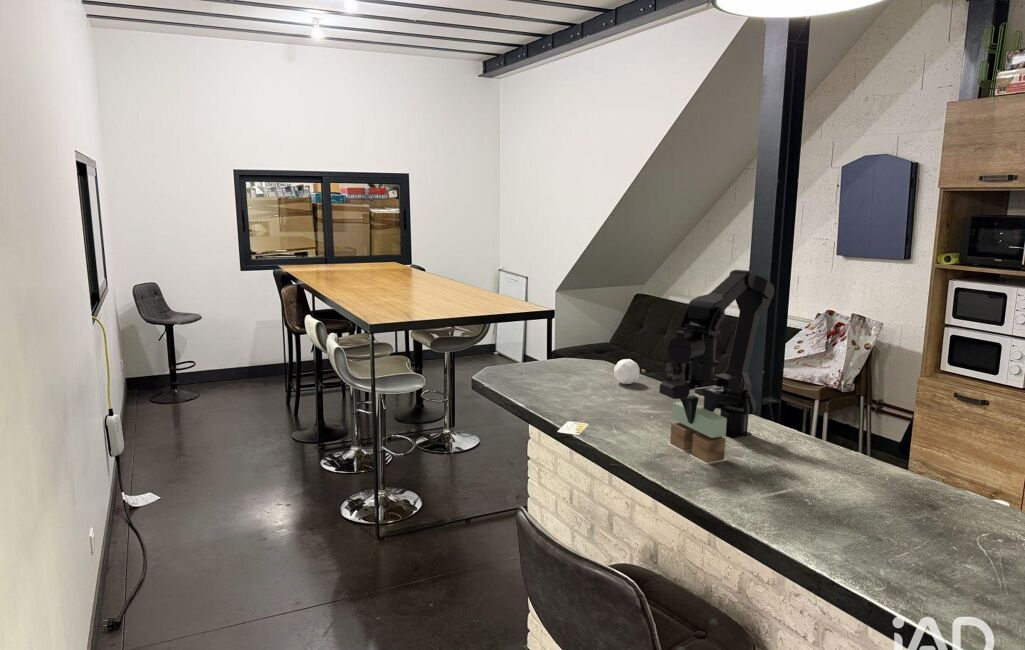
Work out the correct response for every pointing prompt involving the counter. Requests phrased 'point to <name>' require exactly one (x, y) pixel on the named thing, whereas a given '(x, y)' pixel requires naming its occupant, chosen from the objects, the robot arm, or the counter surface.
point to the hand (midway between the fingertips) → (698, 422)
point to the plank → (702, 420)
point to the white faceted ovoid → (626, 371)
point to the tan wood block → (708, 448)
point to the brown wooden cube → (682, 436)
